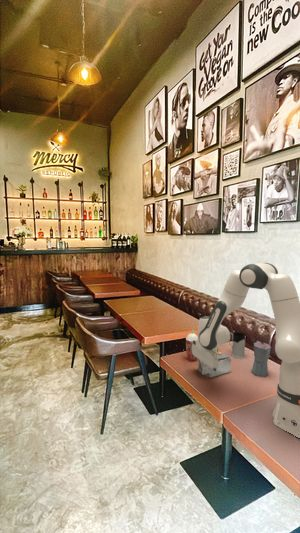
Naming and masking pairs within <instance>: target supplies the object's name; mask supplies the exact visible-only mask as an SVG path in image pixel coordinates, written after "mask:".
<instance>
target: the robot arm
mask: <svg viewBox="0 0 300 533" xmlns="http://www.w3.org/2000/svg"><path fill="white" fill-rule="evenodd" d="M249 289H256V290H263V289H265V290H266V292H267V294H268V296H269V301H270V305H271V308H272V309H271V310H272V313H273V317H274V324H275V338H276V339H275V345H274V350H275V351H274V352H275V354H276V356H277V357H278V359H280V360H281V363H280V367H279V373H278V374H279V376H278V383H277V387H276V394H277V396H276V403H275V406H274V408H273V411H272V415H271V416H272V417H273V425H274V426H276V427H277V428H279V429H281V430H283V431H285V432H286V431H287V432H286V433H288V432H289V433H291V434H293V435H294V436H293V435H292V436H293V437H295V436H296V437H298V438H300V299H299V295H298V294H299V293H298V291H297V288H296V286H295V284H294V281H293V279H292V278H291V276H290V275H288V274H286V273H280V272H279V271H278V269H277V267H276V266H275V265H274V264H271V263H269V262H255V263H250V264H247V265H245V266H243V267H242V268H241V269H235V270H232V272H231V273H230V274H229V276H228V278H227V280H226V283H225V284H224V287H223V290H222V292H221V294H220V297H219V299H218V300H217V302H216V304H214V306H213V309H212V311H211V313H210V315H207V316H202V317H199V320H198V324H197V334H198V335H197V336H198V338H197V339H195V340H192V343H193V344H192V354H193V355H194V356H195V357H197V359H198V360H199V359H200V362H201V368H202V369H203V366H206V365H208V366H209V367H211V368H212V369H214V368H217V367H218V355H217V353H216V351H214V350H213V349H214V348H215V347H218V348H219V346H222V345H223V346H224V345H226V344H228V343H229V341H231V333H230V330H229V329H228V327H227V326H225V325H222V322H223V321H224V319H225V318H226V317H227V316H228V315H229V314H231V313H233V312H234V311H236V310H237V309H239V308H241V307H242V305H243V304H244V302H245V300H246V298H247V294H248V293H249ZM289 433H288V434H289ZM291 434H290V435H291ZM296 437H295V438H296ZM298 438H297V439H298Z"/></svg>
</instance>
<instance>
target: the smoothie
mask: <svg viewBox="0 0 300 533" xmlns="http://www.w3.org/2000/svg"><path fill="white" fill-rule="evenodd" d="M197 338H198V335H197V334H196V333H195V332H194V328H192V331H191V332H190V333H189V334H187V336H186V337H185V350H186V351H185V354H186V360H187V361H189V362H195V361H197V359H198V358H197V357H195V356H194V355H193V354H192V344H193V343H192V340H195V339H197Z"/></svg>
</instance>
